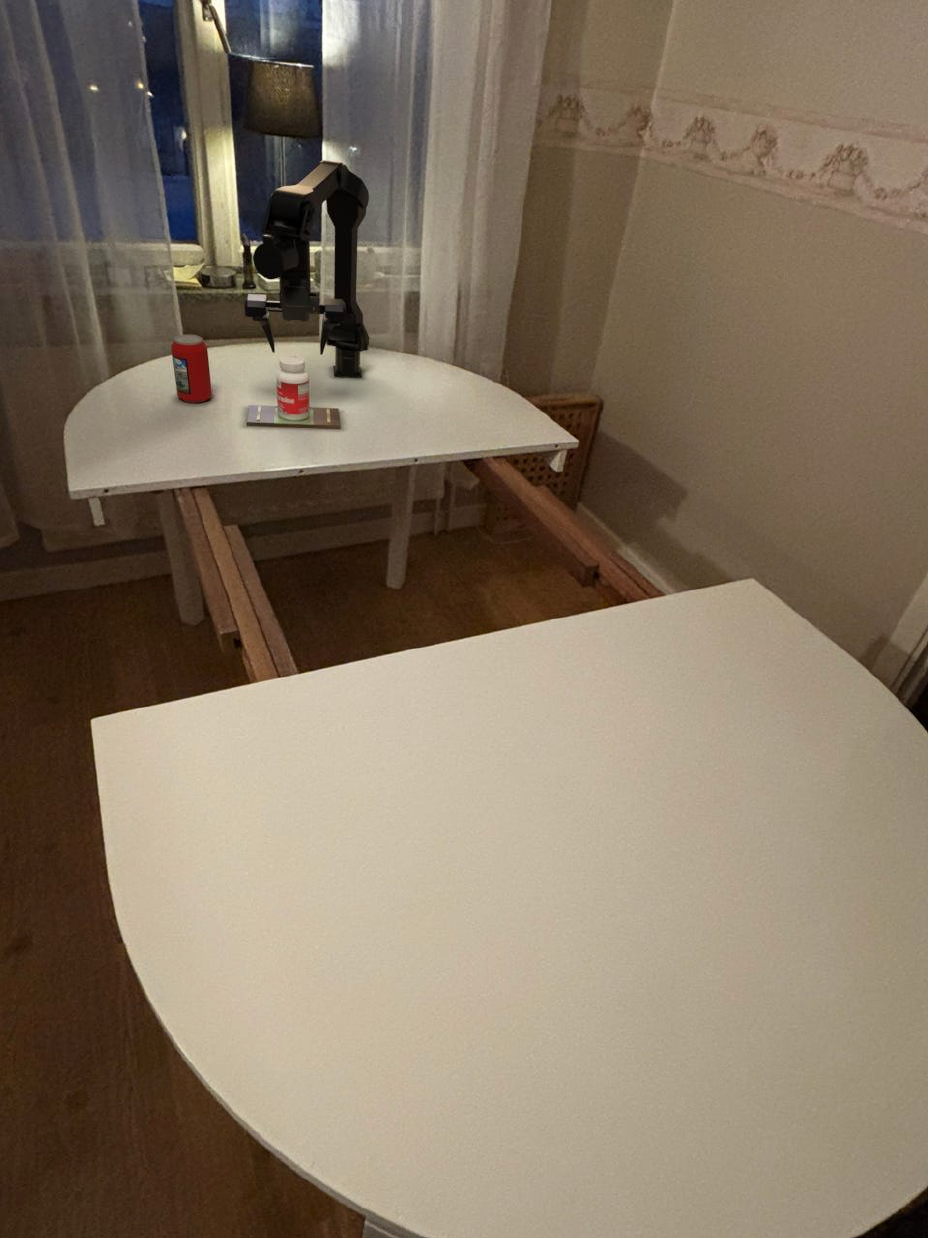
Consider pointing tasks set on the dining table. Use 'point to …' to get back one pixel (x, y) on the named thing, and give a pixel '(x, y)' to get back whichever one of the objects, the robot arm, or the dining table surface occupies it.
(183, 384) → the beverage can
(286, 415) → the pill bottle
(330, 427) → the brown and green board
